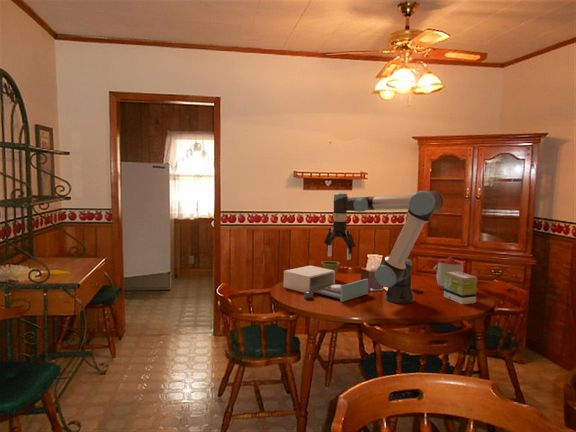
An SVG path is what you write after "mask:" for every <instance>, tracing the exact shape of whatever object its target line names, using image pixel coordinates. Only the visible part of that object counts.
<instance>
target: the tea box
mask: <svg viewBox="0 0 576 432" xmlns="http://www.w3.org/2000/svg"><path fill="white" fill-rule="evenodd" d="M477 289H478V276H474V275H471V274H468V273H465V272H463V273H462V272H459V271H456V272H445V284H444V290H443V297H444V298H445V299H449V300H452V301H453V302H456V303H458V304H460V305H469V304H475V303H476V302H477V292H478V291H477Z"/></svg>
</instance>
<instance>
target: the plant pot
mask: <svg viewBox="0 0 576 432" xmlns="http://www.w3.org/2000/svg"><path fill="white" fill-rule="evenodd" d="M320 263H321V264H322V265H321V266H322V268H325V269H330V270H334V271H335V280H337V274H338V269H339V266H340V264H341V263H340V262H338V261H333V260H332V261H331V260H328V261H327V260H326V261H321V262H320Z"/></svg>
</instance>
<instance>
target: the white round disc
mask: <svg viewBox="0 0 576 432" xmlns="http://www.w3.org/2000/svg"><path fill="white" fill-rule="evenodd" d="M342 285H343V284H339V285H331V289H332V290H336V291H341V286H342Z"/></svg>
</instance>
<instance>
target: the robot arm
mask: <svg viewBox="0 0 576 432" xmlns="http://www.w3.org/2000/svg"><path fill="white" fill-rule="evenodd" d="M332 201H333V221H332V222H333V223H332V226H333V227H331V228H328V233H327V234H326V235H327V236H325V239H324V245H326V250H327V257H328V258H329V257H332V256H333V255H332V253H333V245H332V243H333V242H334V241H335V239H336V238H341V239H343V241H344V242H345V244H346V246H347V249H346V261H350V260H351V259H352V254H353V248H356V243H355V241H354V238H353V235H352V230H351V229H347V228H348V227H347V224H348V223H347V220H348V217H347V216H348V212H349V211H350V212H361V213H362V212H366V211H383V210H384V211H387V210H390V211H391V210H395V211H396V210H400V211H401V210H406V211H407V214H408V216H407V218H406V219H405V220H406V221H405V222H404V224H403V227H402V229H401V231H400V232H399V235H398V237H397V239H396V242H394V245H393V248H392V249H391V252H390V254H389V255H388V256H385V257H384V259H383V261H382V264H381V265H379V266H378V267H376V270H375V271H374V276H375V280H376V282H377V283H378V284H379V285H380V286H381V287H384V288H387V291H386V292H385V300H386V301H388V302H390V303H393V304H405V305H406V304H412V303H414V302H415V301H414V299H415V296H414V293H413V288H412V276H413V261H412V260H411V259H408V257H409V255H410V254H411V251H412V250H413V248H414V246H415V244H416V242H417V239H418V238H419V236H420V234H421V232H422V230H423V227H424V226H425V224H427V223H429V222H430V221H431V219H432V217H433V215H434V214H436V213H439V212H440V211H441V209H443V207H444V204H445V203H444V202H445V201H444V196H443V195H442V194H441V193H440V192H439V191H436V190H420V191H419V190H418V191H416V192H414V193H413V194H410V195H409V194H408V195H406V194H405V195H387V196H386V195H384V196H383V195H382V196H363V197H362V196H360V197H359V196H358V197H350V196H348V194H347V193H343V192H342V193H341V192H340V193H339V192H337V193H334V196H333V200H332Z"/></svg>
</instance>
